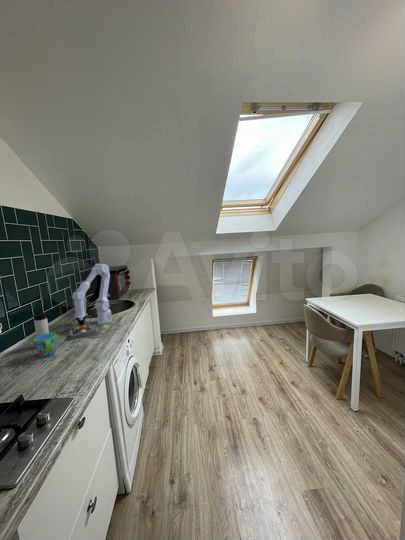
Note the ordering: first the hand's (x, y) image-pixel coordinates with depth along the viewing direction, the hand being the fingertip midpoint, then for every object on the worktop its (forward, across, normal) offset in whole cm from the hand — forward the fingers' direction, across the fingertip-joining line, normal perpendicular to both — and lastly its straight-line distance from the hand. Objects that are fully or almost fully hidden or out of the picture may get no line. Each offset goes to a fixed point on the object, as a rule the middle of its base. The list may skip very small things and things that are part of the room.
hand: (81, 327), depth 159 cm
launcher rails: (+1, -2, 0) cm, 2 cm away
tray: (+1, +12, 0) cm, 12 cm away
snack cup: (+2, +29, -19) cm, 35 cm away
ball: (-1, +13, 0) cm, 13 cm away
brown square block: (+1, +4, 0) cm, 4 cm away
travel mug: (+2, +15, -21) cm, 26 cm away
